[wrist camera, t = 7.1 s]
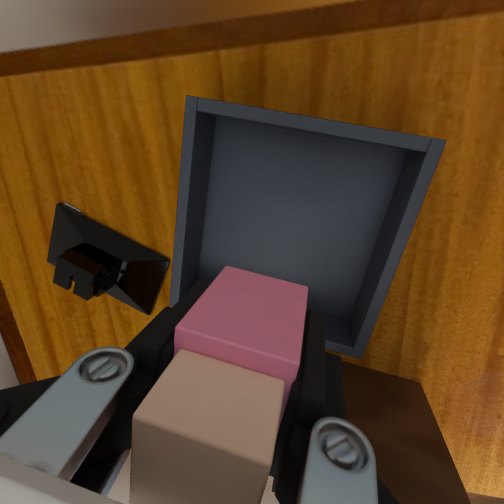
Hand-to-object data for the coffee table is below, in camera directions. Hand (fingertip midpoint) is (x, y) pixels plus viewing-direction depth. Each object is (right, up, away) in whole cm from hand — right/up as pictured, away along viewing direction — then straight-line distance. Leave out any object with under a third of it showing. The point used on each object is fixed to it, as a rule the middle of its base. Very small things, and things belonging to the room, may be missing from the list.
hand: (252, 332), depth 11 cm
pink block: (0, 0, +1) cm, 1 cm away
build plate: (-15, +2, +20) cm, 25 cm away
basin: (+3, +5, +14) cm, 16 cm away
